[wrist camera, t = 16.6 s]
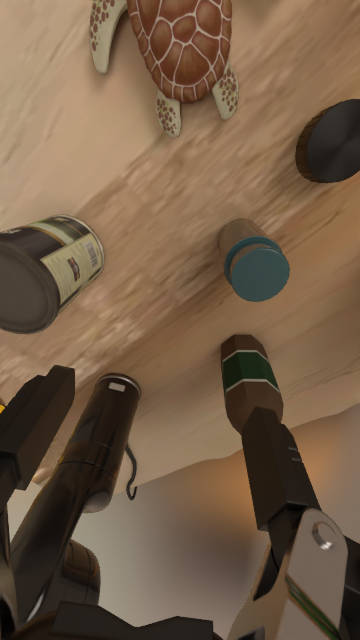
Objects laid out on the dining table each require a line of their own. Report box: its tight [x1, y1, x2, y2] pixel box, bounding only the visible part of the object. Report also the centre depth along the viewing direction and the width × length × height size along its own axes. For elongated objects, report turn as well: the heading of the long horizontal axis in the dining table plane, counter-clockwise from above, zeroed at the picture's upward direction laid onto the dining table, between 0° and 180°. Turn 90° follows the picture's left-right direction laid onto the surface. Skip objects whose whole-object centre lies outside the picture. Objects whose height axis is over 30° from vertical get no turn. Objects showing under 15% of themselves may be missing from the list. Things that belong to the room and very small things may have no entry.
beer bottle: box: [221, 335, 283, 436], centre depth 32 cm, size 8×8×24 cm
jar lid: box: [295, 99, 360, 183], centre depth 25 cm, size 7×7×4 cm
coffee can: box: [0, 215, 104, 334], centre depth 29 cm, size 10×10×14 cm
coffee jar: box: [218, 218, 290, 302], centre depth 27 cm, size 6×6×14 cm
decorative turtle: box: [90, 0, 239, 137], centre depth 21 cm, size 18×17×5 cm
